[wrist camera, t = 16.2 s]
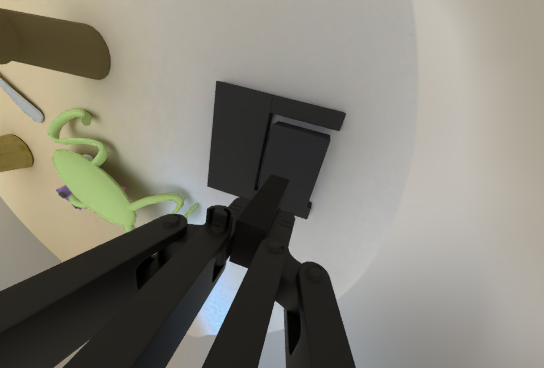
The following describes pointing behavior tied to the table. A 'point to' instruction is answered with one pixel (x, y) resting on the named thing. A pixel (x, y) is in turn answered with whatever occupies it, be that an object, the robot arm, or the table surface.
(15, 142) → the vase
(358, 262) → the table surface
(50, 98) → the table surface
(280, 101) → the black pad
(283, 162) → the charcoal pad
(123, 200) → the figurine
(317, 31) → the table surface
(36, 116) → the fork
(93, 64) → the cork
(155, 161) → the table surface
